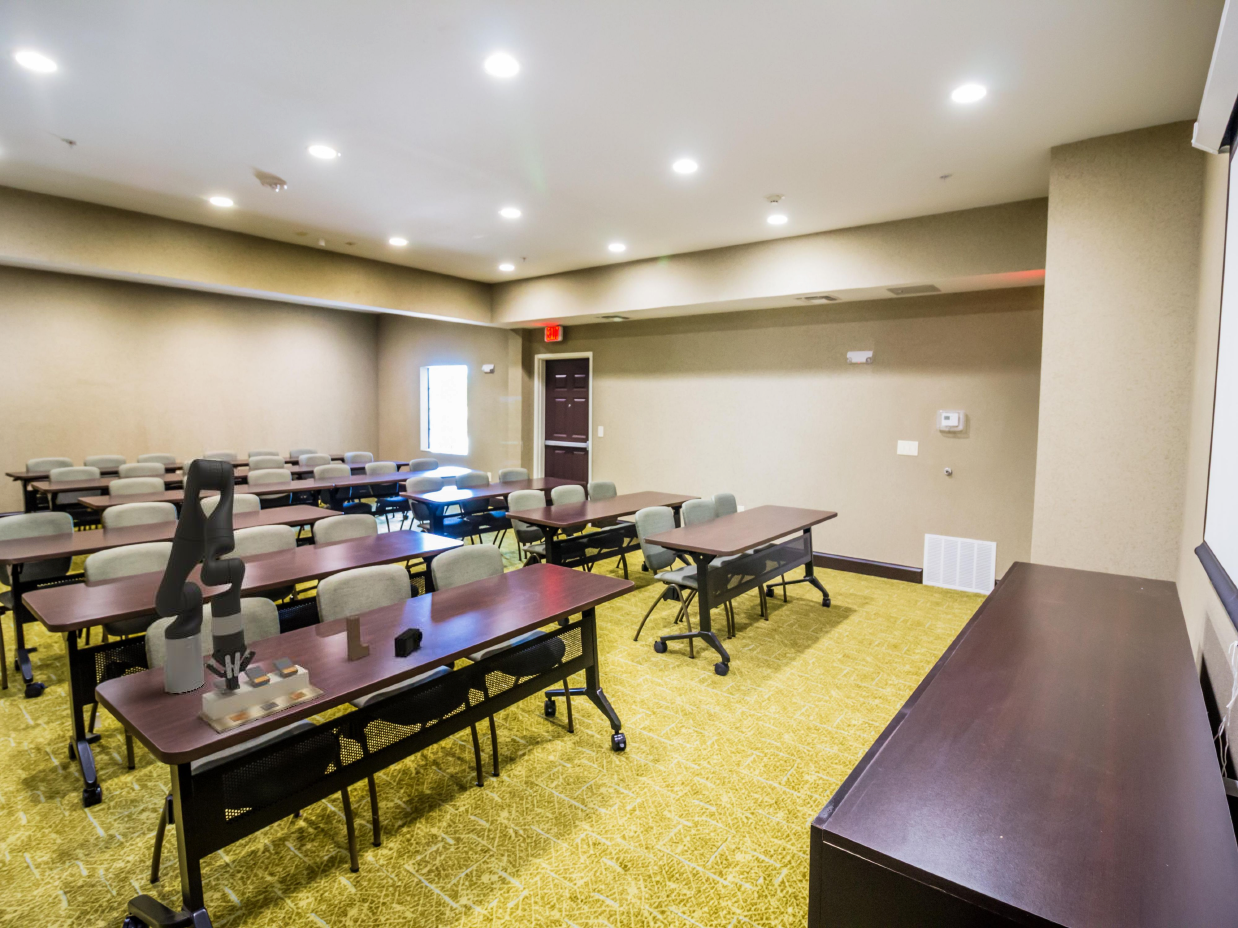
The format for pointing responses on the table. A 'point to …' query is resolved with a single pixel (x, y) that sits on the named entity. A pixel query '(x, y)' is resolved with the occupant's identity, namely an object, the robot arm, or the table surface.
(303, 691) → the chart board
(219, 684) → the switch left
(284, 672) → the switch right
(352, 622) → the wooden block
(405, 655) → the digital camera
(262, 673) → the switch middle
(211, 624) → the robot arm
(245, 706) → the switch box
